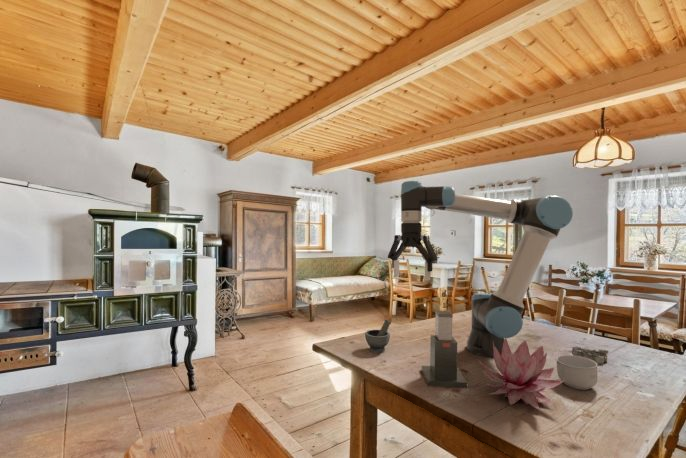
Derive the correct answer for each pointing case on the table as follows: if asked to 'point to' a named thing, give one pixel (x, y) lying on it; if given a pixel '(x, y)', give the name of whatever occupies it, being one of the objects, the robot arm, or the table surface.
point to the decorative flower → (522, 374)
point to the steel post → (443, 326)
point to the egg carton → (591, 354)
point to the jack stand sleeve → (443, 365)
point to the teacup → (577, 371)
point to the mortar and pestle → (378, 338)
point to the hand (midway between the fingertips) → (411, 278)
